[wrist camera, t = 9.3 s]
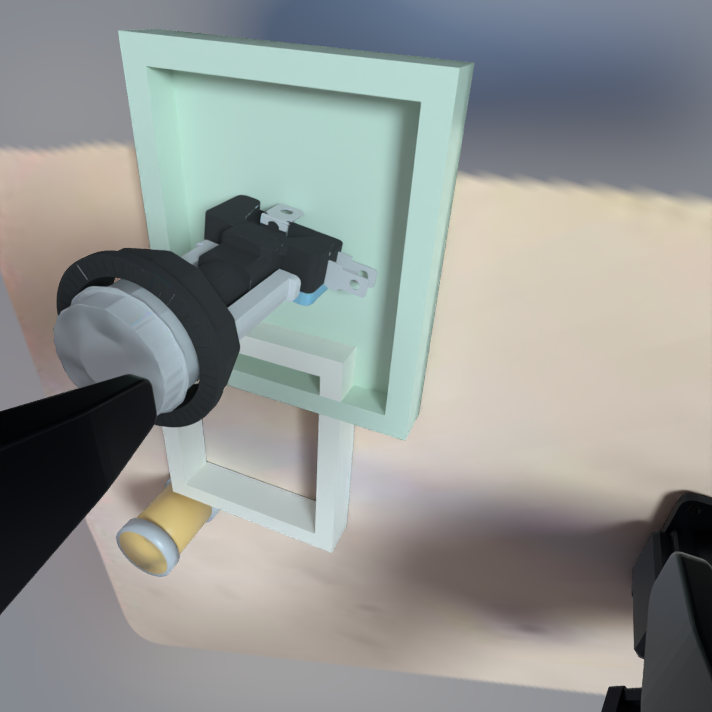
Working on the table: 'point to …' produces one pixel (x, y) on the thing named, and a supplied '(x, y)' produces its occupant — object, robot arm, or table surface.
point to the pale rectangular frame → (259, 499)
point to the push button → (193, 303)
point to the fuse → (163, 531)
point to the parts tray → (311, 187)
